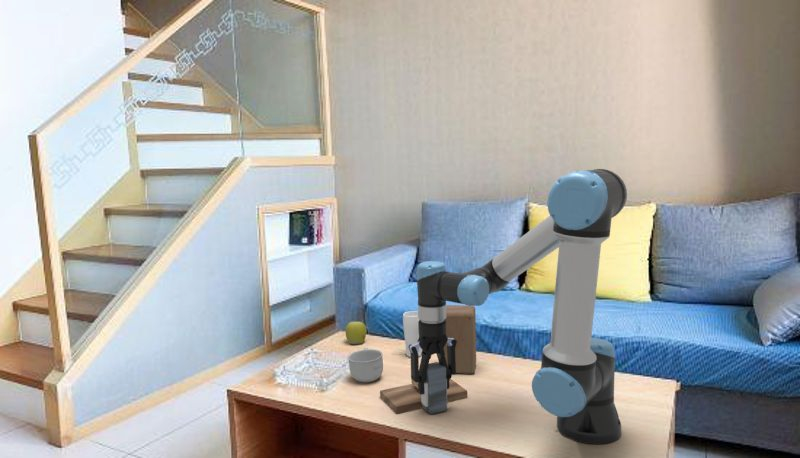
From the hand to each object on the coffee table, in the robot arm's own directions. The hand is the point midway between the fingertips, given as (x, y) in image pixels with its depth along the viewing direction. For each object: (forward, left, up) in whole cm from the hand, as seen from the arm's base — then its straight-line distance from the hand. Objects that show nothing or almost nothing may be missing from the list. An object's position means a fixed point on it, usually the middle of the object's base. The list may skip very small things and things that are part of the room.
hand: (434, 402), depth 153 cm
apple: (+64, 0, -2) cm, 64 cm away
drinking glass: (+41, -13, -2) cm, 43 cm away
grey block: (+5, 0, -2) cm, 6 cm away
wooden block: (+23, -21, -2) cm, 31 cm away
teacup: (+31, +8, -2) cm, 32 cm away
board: (+9, -1, -2) cm, 9 cm away
